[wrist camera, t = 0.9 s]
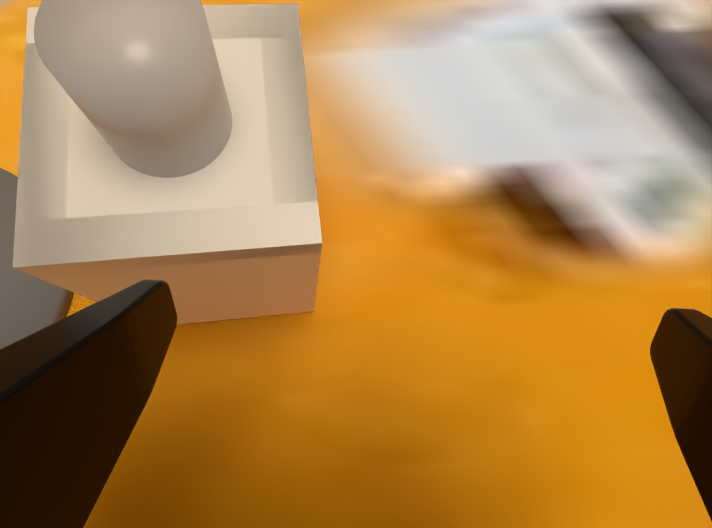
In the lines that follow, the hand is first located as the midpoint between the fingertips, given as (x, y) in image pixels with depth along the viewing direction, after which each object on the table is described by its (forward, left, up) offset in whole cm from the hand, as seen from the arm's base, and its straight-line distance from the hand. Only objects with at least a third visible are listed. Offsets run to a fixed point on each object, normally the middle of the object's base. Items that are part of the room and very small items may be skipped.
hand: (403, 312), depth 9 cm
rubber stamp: (0, +7, -12) cm, 14 cm away
